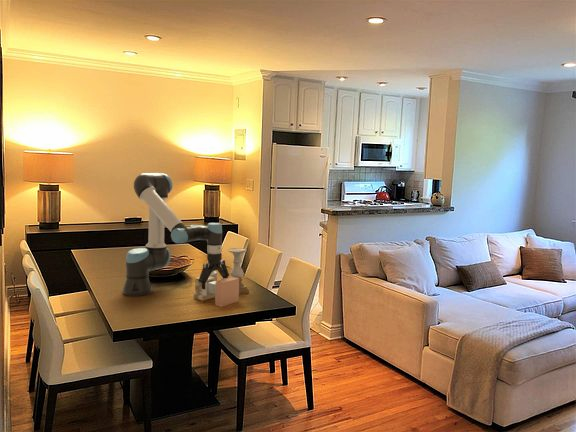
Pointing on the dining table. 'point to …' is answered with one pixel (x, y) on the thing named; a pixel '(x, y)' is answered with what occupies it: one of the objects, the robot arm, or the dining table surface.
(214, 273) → the container
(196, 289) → the white blocky piece
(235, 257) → the candle holder
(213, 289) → the slip bar
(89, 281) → the dining table surface
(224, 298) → the socket block
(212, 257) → the robot arm
